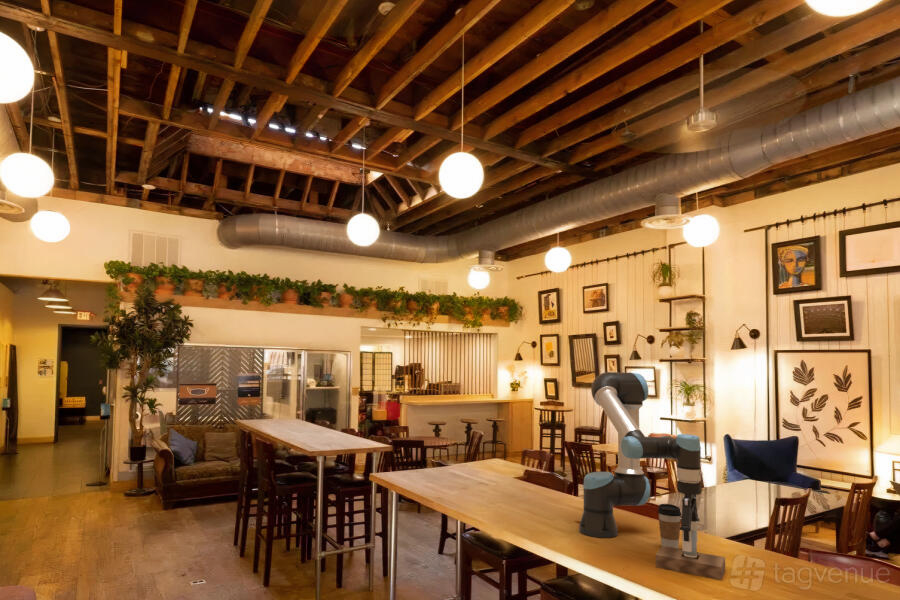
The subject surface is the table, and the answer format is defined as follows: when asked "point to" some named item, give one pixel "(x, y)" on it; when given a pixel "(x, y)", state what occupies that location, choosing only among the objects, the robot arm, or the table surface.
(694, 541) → the peg
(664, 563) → the board
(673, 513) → the coffee cup
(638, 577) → the table surface
